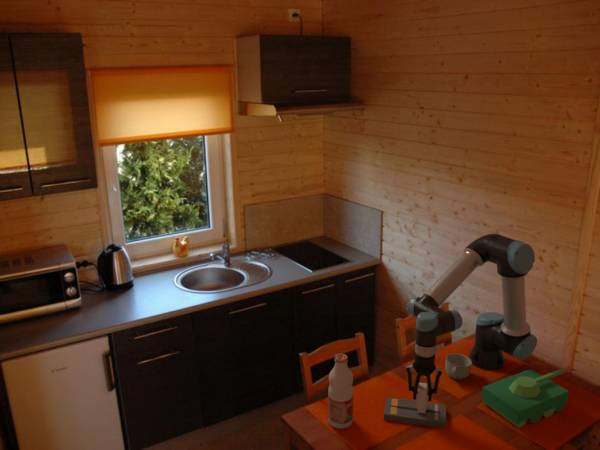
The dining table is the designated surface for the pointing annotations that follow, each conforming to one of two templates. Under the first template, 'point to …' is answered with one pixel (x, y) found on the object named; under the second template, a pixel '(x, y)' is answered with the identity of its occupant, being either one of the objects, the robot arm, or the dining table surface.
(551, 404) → the toy tank
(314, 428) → the dining table surface
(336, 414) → the fruit juice
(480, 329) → the robot arm
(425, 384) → the block
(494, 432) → the dining table surface
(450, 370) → the teacup
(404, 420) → the panel
